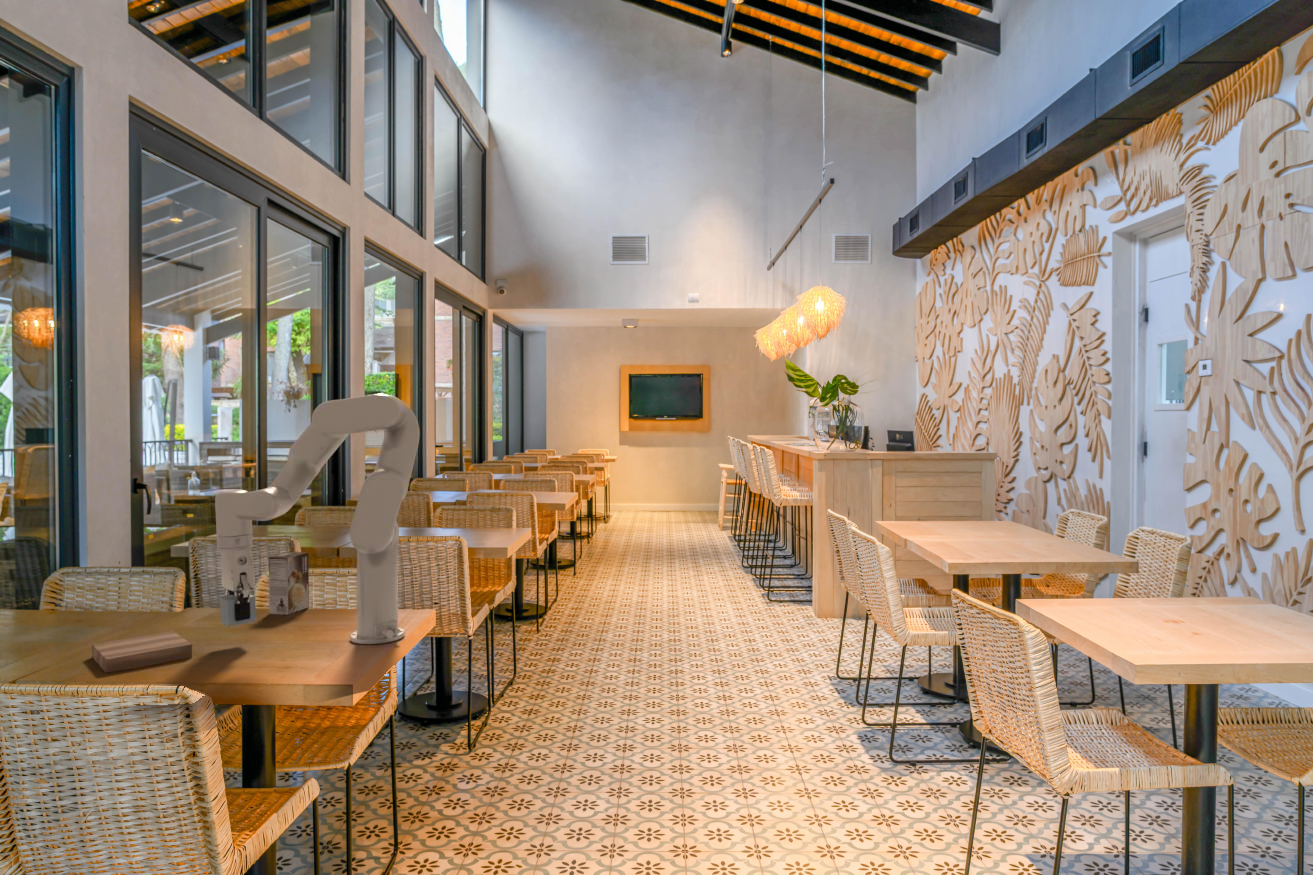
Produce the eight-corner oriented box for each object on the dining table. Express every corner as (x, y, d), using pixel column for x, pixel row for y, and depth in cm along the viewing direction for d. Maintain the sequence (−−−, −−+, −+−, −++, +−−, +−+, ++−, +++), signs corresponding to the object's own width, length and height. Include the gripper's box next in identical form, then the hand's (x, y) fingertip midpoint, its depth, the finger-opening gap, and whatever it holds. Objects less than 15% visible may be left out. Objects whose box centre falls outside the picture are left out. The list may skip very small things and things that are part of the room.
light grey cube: (256, 621, 184) (255, 596, 184) (228, 626, 180) (227, 600, 180) (247, 617, 189) (246, 592, 189) (220, 622, 185) (219, 597, 184)
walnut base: (192, 657, 175) (191, 644, 174) (106, 673, 163) (106, 659, 163) (173, 643, 186) (173, 630, 186) (92, 657, 175) (92, 644, 175)
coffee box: (290, 606, 224) (289, 551, 224) (309, 607, 223) (309, 552, 223) (268, 614, 215) (267, 556, 215) (288, 615, 214) (288, 557, 214)
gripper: (264, 543, 181) (267, 620, 181) (240, 537, 193) (243, 609, 193) (229, 547, 175) (232, 626, 176) (206, 541, 188) (210, 615, 188)
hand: (238, 616), depth 184 cm, fingers closed on light grey cube, 6 cm apart
